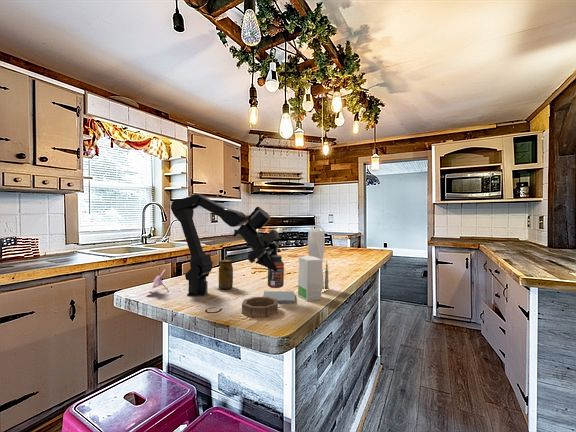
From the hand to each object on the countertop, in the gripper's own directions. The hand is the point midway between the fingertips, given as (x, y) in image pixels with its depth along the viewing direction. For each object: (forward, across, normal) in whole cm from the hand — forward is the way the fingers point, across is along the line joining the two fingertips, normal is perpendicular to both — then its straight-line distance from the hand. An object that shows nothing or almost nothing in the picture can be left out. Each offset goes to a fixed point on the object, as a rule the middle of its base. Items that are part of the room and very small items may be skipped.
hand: (279, 268), depth 103 cm
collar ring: (+7, -11, +11) cm, 17 cm away
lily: (-27, -4, +45) cm, 53 cm away
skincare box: (+16, +9, +2) cm, 18 cm away
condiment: (-10, +11, +28) cm, 32 cm away
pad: (+8, +4, +10) cm, 13 cm away
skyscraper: (+16, +21, +2) cm, 26 cm away
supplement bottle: (+4, 0, +6) cm, 7 cm away
